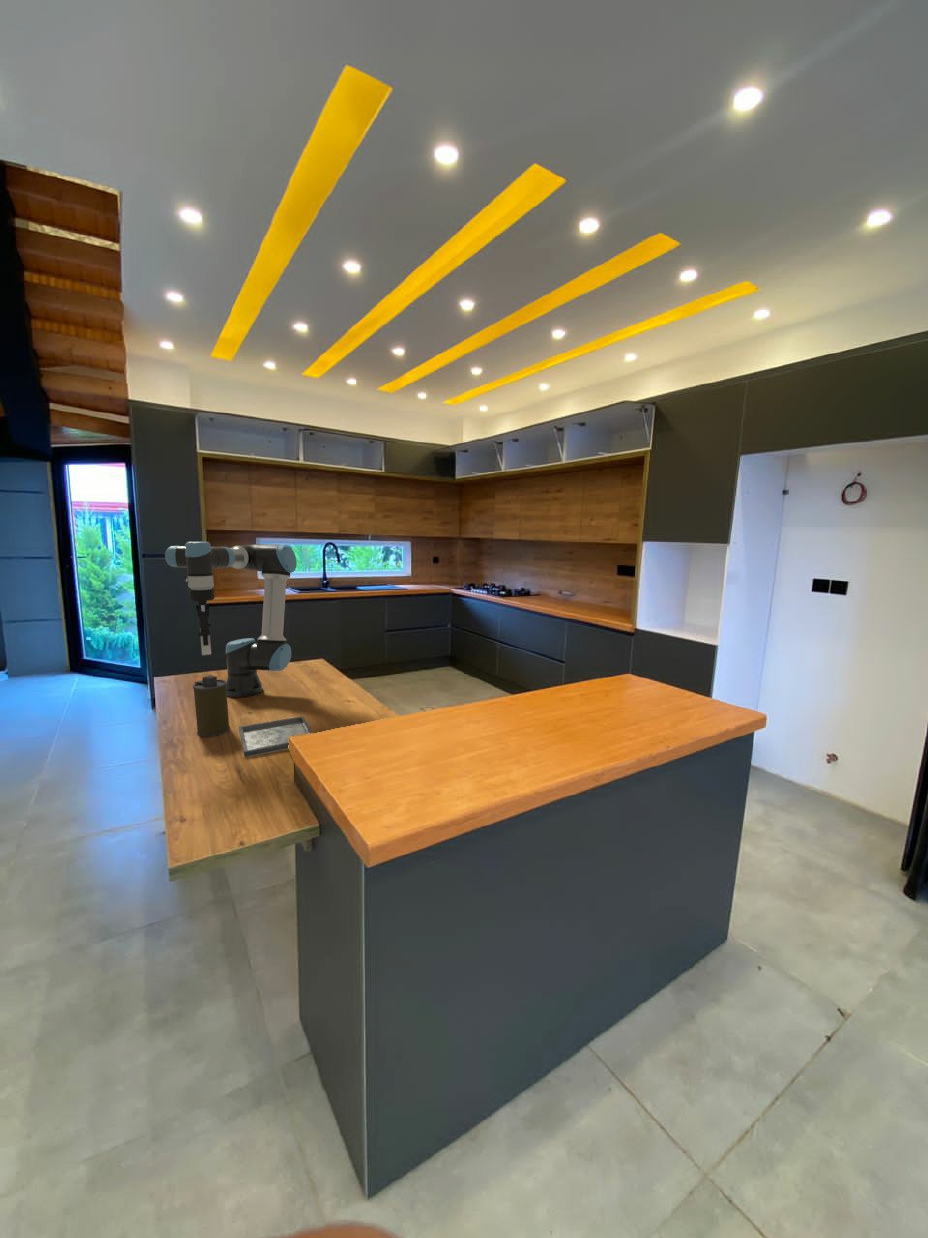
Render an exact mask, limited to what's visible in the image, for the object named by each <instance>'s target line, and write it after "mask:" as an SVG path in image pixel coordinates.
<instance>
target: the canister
mask: <svg viewBox="0 0 928 1238" xmlns="http://www.w3.org/2000/svg"><path fill="white" fill-rule="evenodd" d="M226 681H227V680H224V679H220V678H219V679H218V676H215V675H213V674H209V675H206V676H203V677H202V679H201V680H198V681H195V682H194V684H193V685H192V688H193V694H194V695H193V696H194V706H195V717H196V730H197V731H196V735H198V737H202V738H210V737H217V736H220V735H224V734H226V733H228V732H229V731H230V729H231V727H230V720H229V708H228V707H229V706H228V696H227V692H226V683H227V682H226Z"/></svg>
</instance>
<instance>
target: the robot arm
mask: <svg viewBox="0 0 928 1238" xmlns="http://www.w3.org/2000/svg"><path fill="white" fill-rule="evenodd" d="M164 556H165V557H164V558H165V562H166V564H167V565H169V566H170V567H173V568H182V569H183V568H186V572H187V574H186V576H187V578H186V579H185V582H186V583H187V582H188V583H187V586H188V588H190V589H188V597H189V600H190V601H191V602H197V604H198V605H197V604H196V605H195V609H196V610H195V611H196V612H197V619H199V631H200V632H199V633H198V634H197V635H198V637H200V647H201V656H208V655H212V647H211V634H210V632H211V631H210V627H211V623H209V618H210V612H211V611H210V609H211V608H210V604H207V602H209V601H213V600H215V597H216V596H215V589H214V587H215V584H214V574H213V570H216V569H227V568H234V569H236V570H245V571H246V570H248V571H254V572H260V575H261V576H262V577H263V579H264V587H263V589H264V590H263V606H262V620H261V621H262V623H261V624H262V625H261V635H260V636H259V637H258V638H257V639H256V640H257V641H256V640H255V638H254V637H251V638H250V637H248V638H241V639H240V638H239V639H236V640H231V641H229V642H227V644H225V656H226V657H225V658H226V668H227V670H226V671H227V678H226V680H225V681H226V682H227V683H226V692H227V697H228V698H245V697H251V696H254V695H258V694H260V693H261V692H262V691H263V684H262V681H261V679H260V677H259V675H258V671H268V672H270V671H271V672H282V671H283V670H285V669H286V668H287V667H288V666H289V663H291V662H290V661H291V658H292V647H291V646H290V644H288V643H287V638H286V637H285V636H284V626H285V612H286V611H285V608H286V593H287V591H286V590H287V581H288V580H289V579H290V578H291V573H293V572H295V571H296V568H297V564H298V563H297V556H296V553H295V552H294V549H293V548H292V547H291V546H289V545H286V544H280V543H279V544H256V543H255V544H245V545H234V546H232V547H228V546H211V542H209V541H187V542H186V543H185V544H184V546H183V545H171V546H169V547H168V548H166V550H165V553H164Z"/></svg>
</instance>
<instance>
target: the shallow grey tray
mask: <svg viewBox="0 0 928 1238" xmlns="http://www.w3.org/2000/svg"><path fill="white" fill-rule="evenodd" d="M307 733H313V734H314V732H313V731H312V728H311V727H310V725H309V723H308V722H307V720H306V718H305V715H304V716H297V717H292V718H291V717H290V718H285V719H279V720H272V721H265V722H258V723H254V724H246V725H241V726H238V734H239V737H240V742H241V747H242V752H243V757H244V758H251V757H255V756H261V755H265V754H270V753H276V752H283V751H286V750H289V749H288V745H289V743H288V737H290V736H295V735H300V734H307Z"/></svg>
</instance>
